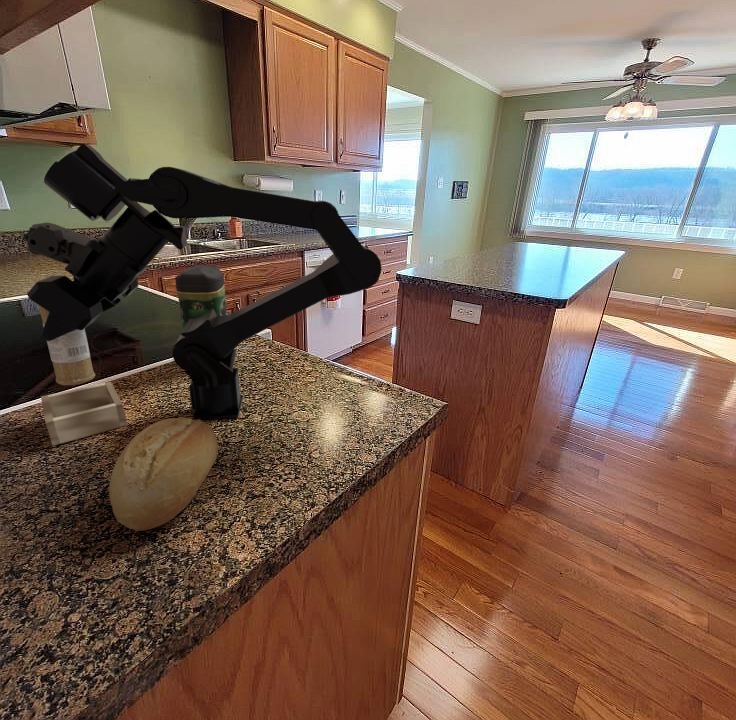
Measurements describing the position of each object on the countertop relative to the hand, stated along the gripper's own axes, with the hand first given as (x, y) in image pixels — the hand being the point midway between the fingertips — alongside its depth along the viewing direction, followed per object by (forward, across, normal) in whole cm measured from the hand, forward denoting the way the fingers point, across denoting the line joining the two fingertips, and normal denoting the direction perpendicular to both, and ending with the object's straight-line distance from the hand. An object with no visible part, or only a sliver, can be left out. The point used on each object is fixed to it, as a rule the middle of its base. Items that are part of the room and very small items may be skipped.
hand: (53, 332), depth 53 cm
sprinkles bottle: (+4, 0, +6) cm, 7 cm away
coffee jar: (-1, -20, +21) cm, 29 cm away
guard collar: (+8, +1, +10) cm, 13 cm away
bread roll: (-2, +18, +22) cm, 28 cm away
